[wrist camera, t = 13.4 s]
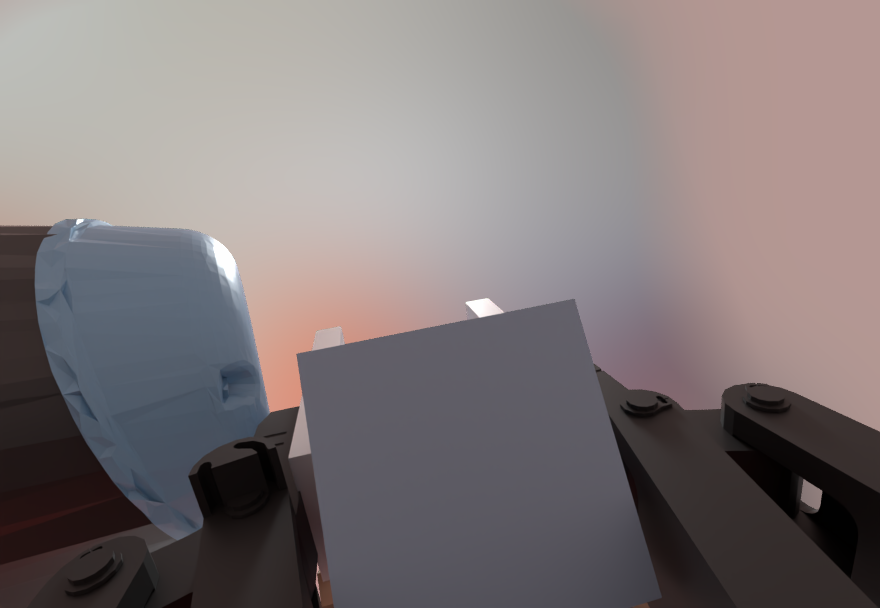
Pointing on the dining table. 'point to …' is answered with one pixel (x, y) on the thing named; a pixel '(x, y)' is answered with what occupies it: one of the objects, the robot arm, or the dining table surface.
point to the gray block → (473, 469)
